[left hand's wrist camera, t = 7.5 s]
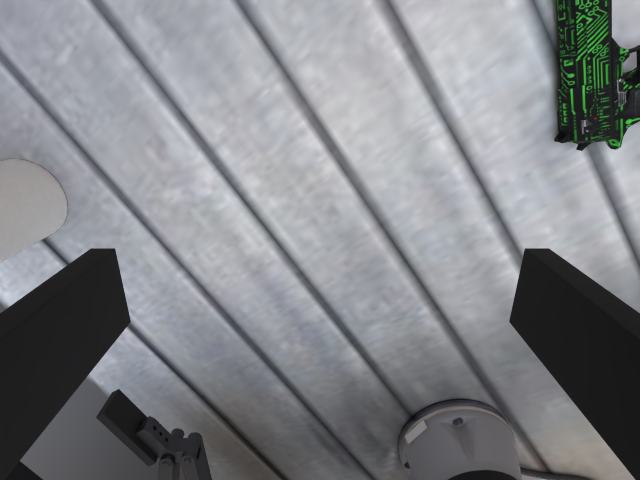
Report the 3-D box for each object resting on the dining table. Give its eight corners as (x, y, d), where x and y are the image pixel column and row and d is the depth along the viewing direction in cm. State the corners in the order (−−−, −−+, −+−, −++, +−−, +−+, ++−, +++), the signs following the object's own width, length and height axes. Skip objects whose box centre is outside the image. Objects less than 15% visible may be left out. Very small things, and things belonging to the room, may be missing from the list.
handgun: (721, 133, 35) (556, 164, 36) (691, 130, 38) (538, 159, 39) (759, -81, 30) (562, -40, 30) (720, -66, 32) (540, -29, 33)
